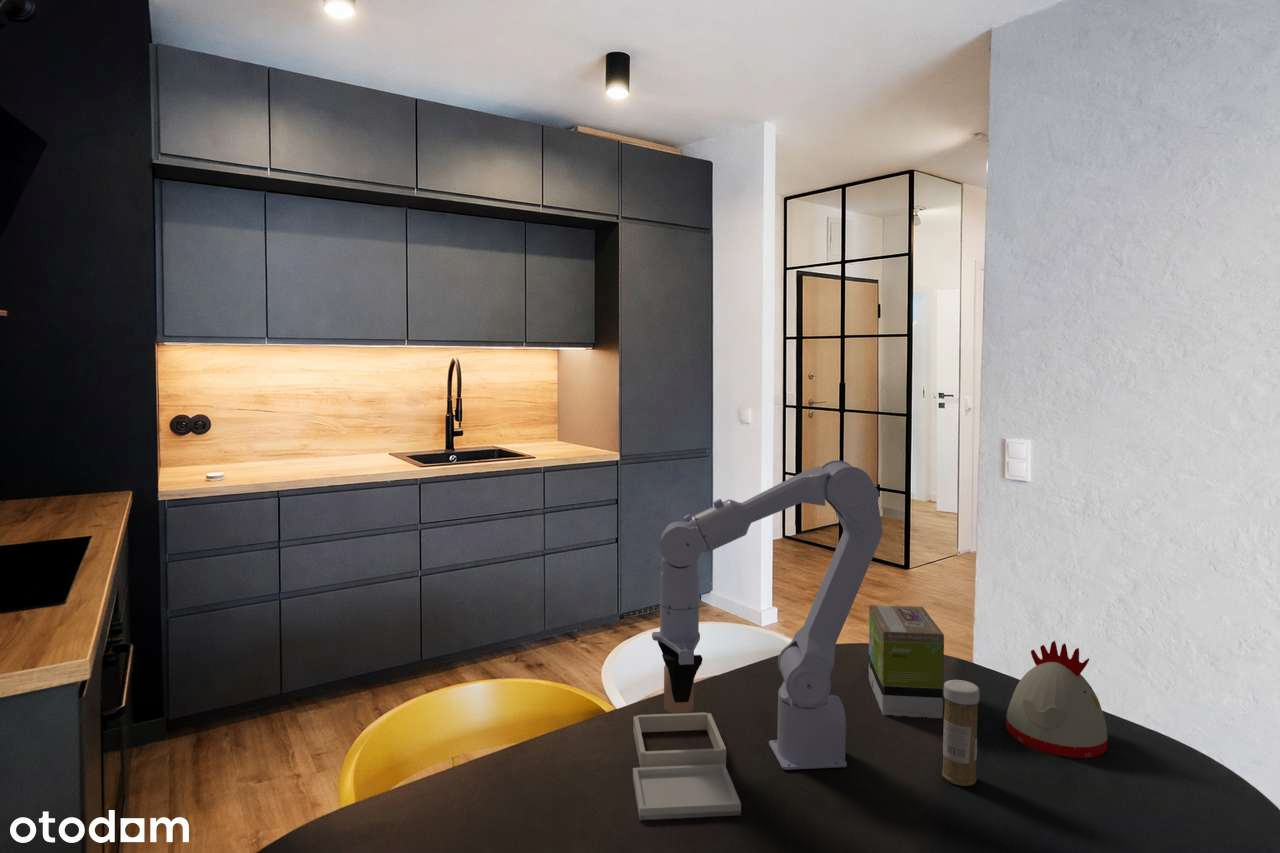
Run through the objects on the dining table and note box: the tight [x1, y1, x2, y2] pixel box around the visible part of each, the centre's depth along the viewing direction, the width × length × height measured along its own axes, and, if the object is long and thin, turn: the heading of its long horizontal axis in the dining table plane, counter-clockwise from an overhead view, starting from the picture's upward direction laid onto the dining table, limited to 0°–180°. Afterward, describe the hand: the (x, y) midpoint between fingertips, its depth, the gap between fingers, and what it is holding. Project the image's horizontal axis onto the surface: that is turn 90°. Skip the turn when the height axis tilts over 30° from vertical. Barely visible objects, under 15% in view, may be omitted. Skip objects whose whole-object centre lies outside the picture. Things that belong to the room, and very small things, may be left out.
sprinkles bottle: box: [941, 679, 980, 787], centre depth 104 cm, size 5×5×14 cm
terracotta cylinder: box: [663, 664, 695, 714], centre depth 110 cm, size 4×4×6 cm
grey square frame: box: [632, 712, 727, 768], centre depth 112 cm, size 12×12×2 cm
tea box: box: [868, 604, 945, 719], centre depth 130 cm, size 15×10×15 cm
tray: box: [632, 764, 742, 821], centre depth 99 cm, size 13×10×2 cm
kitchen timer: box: [1005, 640, 1108, 759], centre depth 117 cm, size 14×14×15 cm
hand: (678, 694), depth 110 cm, fingers closed on terracotta cylinder, 4 cm apart
